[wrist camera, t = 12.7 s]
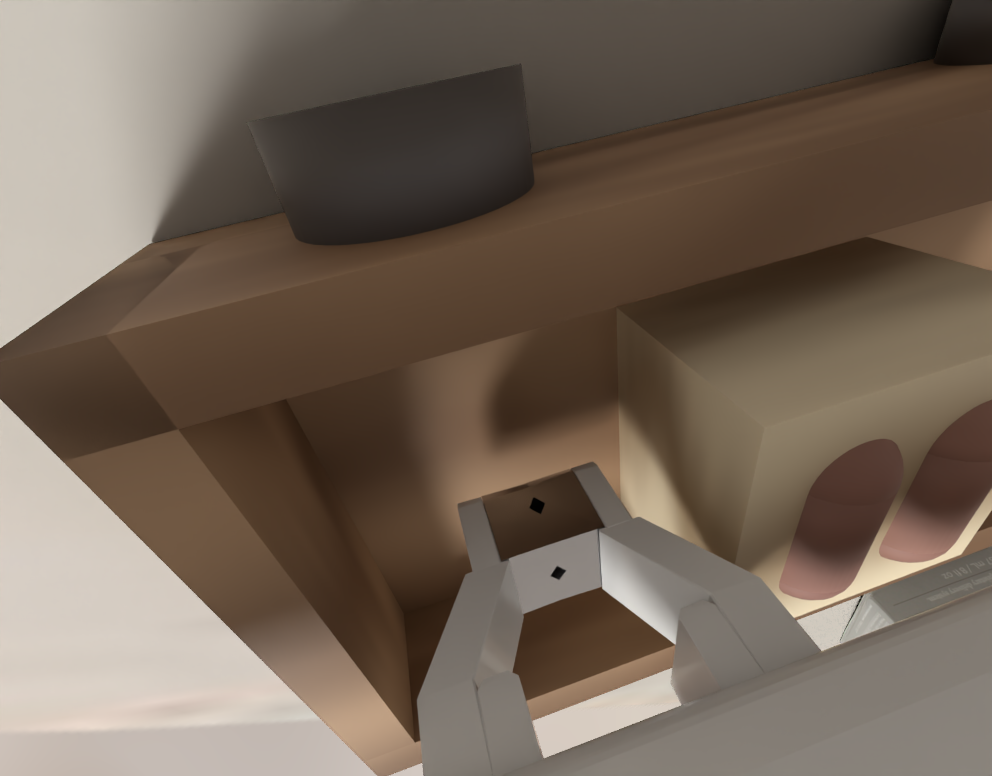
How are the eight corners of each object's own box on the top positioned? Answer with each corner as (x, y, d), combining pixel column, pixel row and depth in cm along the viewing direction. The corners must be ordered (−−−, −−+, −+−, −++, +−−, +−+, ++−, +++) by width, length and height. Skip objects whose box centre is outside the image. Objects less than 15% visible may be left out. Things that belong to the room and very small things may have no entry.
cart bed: (94, 154, 7) (-184, 214, 3) (1172, -76, 9) (1685, -185, 6) (388, 632, 15) (397, 795, 12) (915, 450, 18) (1057, 540, 14)
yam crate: (616, 307, 9) (794, 452, 6) (867, 236, 10) (1181, 322, 6) (620, 499, 13) (732, 672, 9) (807, 437, 13) (986, 573, 10)
